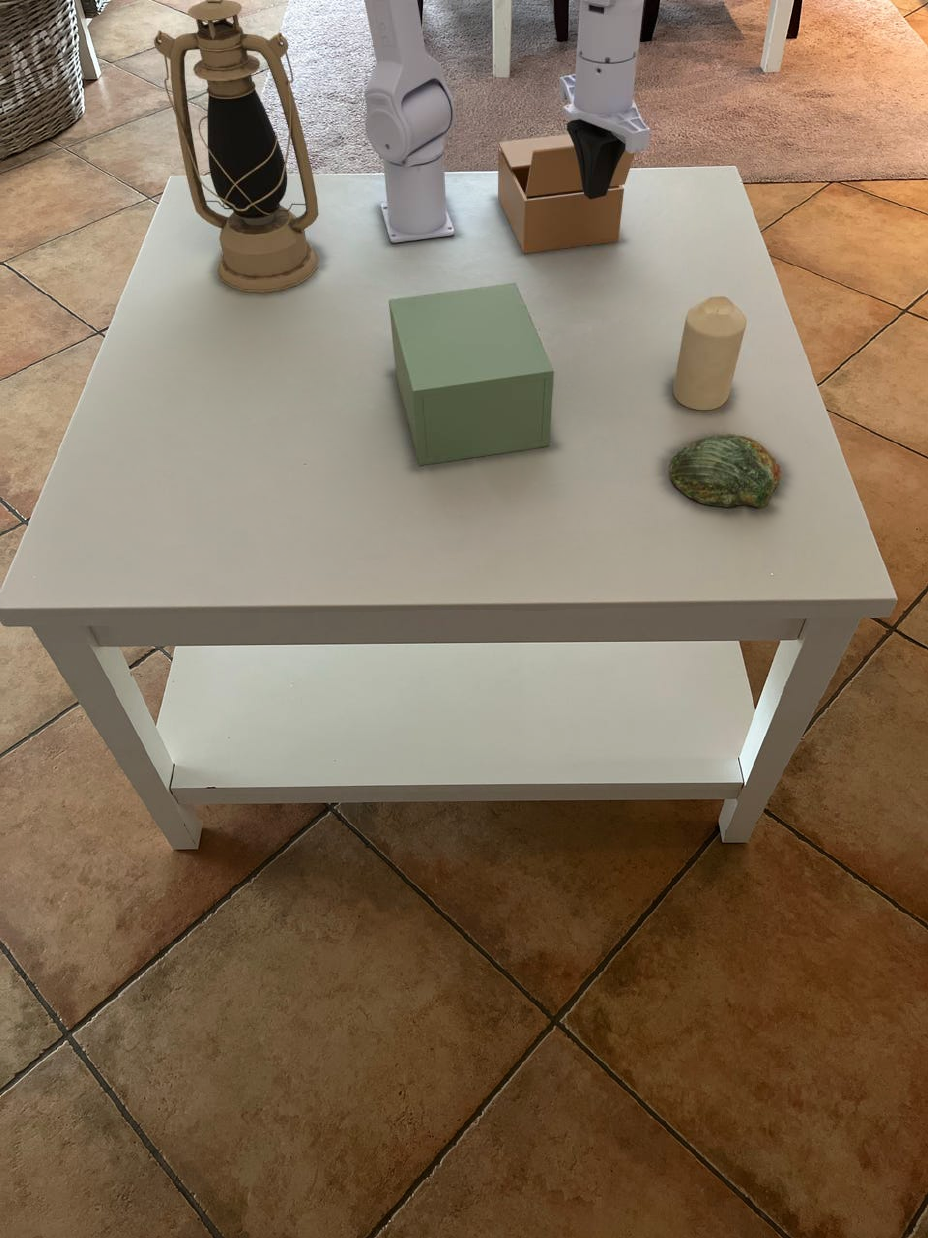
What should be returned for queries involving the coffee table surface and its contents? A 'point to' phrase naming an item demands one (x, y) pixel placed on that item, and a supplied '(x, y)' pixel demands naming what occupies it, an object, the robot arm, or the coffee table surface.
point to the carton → (552, 203)
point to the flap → (565, 171)
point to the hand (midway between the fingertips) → (595, 194)
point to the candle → (709, 353)
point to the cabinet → (471, 373)
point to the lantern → (243, 151)
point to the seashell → (726, 471)
